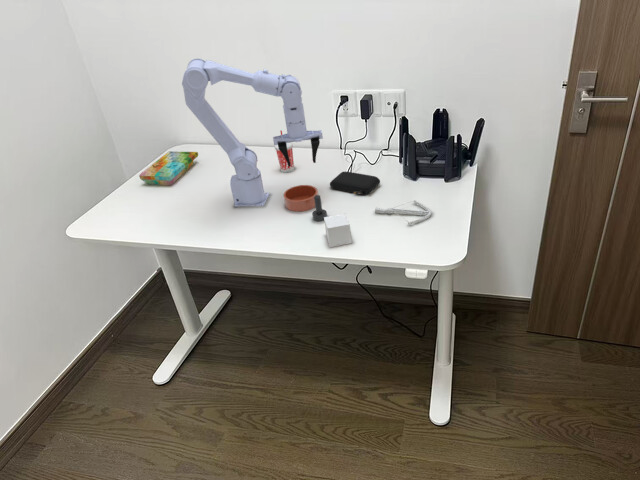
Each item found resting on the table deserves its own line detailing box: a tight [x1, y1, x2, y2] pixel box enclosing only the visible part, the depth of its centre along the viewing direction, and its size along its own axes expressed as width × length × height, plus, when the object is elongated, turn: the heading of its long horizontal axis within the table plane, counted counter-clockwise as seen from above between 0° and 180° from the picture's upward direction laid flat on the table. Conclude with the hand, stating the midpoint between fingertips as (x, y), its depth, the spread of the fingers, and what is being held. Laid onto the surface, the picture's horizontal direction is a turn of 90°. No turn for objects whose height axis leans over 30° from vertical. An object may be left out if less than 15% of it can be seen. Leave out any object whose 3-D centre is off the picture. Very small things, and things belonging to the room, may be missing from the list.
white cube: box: [323, 213, 353, 248], centre depth 146 cm, size 6×6×6 cm
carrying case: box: [329, 171, 381, 196], centre depth 171 cm, size 11×3×15 cm
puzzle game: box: [139, 150, 199, 186], centre depth 191 cm, size 12×5×20 cm
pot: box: [283, 184, 319, 213], centre depth 164 cm, size 10×10×4 cm
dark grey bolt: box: [311, 194, 328, 223], centre depth 155 cm, size 4×4×8 cm
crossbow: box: [374, 199, 432, 226], centre depth 156 cm, size 16×13×2 cm
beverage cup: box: [273, 130, 295, 173], centre depth 183 cm, size 6×6×14 cm
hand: (301, 163), depth 165 cm, fingers open, 7 cm apart
